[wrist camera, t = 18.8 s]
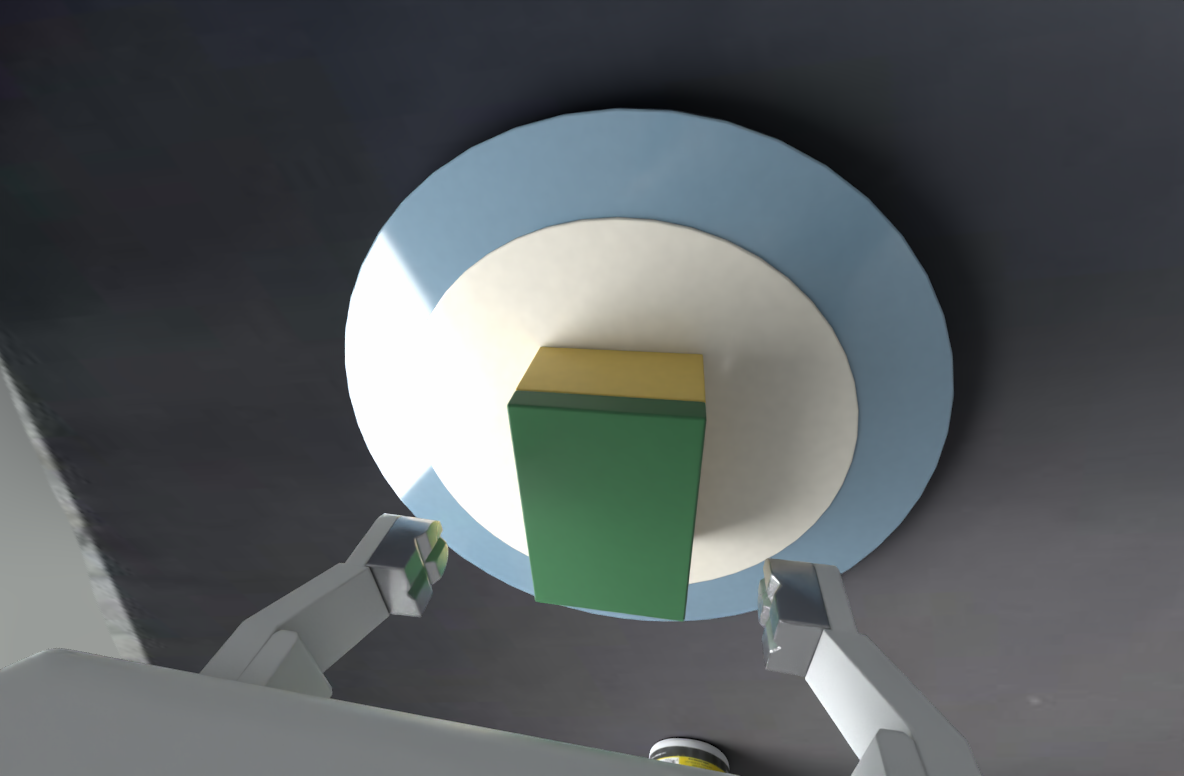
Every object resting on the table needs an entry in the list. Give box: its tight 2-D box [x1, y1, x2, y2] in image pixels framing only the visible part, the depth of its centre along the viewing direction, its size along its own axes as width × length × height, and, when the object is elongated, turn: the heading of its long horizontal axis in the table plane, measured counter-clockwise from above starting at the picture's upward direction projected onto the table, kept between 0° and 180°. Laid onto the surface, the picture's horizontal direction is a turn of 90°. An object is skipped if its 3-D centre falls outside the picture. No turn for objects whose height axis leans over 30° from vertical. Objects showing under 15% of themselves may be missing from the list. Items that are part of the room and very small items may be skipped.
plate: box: [345, 107, 954, 621], centre depth 17 cm, size 20×20×1 cm
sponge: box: [507, 347, 707, 621], centre depth 15 cm, size 8×5×3 cm, turn 3°
